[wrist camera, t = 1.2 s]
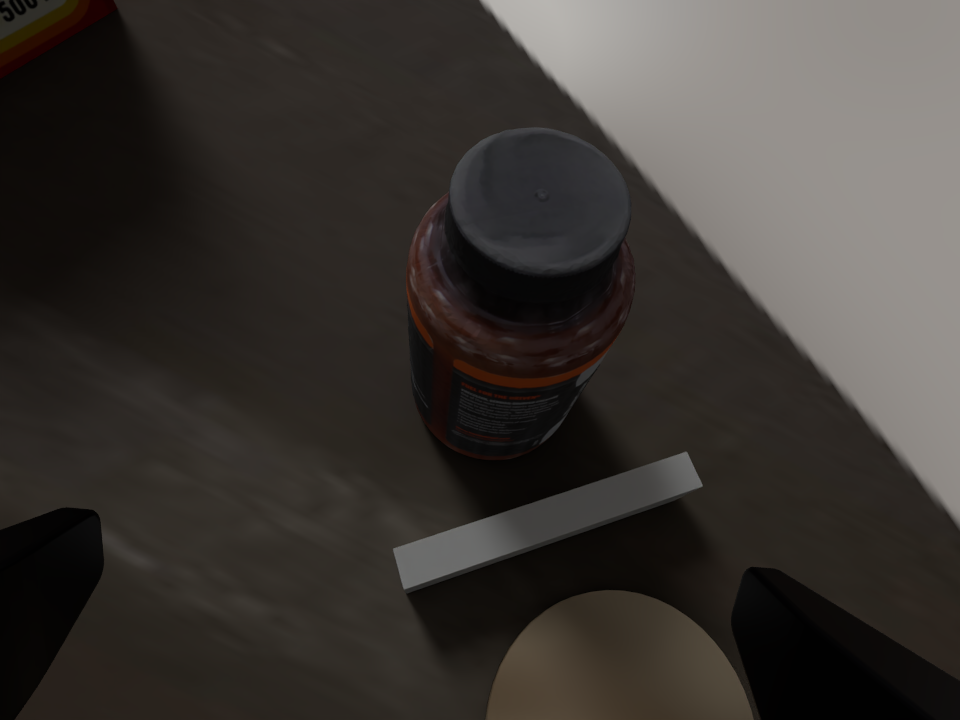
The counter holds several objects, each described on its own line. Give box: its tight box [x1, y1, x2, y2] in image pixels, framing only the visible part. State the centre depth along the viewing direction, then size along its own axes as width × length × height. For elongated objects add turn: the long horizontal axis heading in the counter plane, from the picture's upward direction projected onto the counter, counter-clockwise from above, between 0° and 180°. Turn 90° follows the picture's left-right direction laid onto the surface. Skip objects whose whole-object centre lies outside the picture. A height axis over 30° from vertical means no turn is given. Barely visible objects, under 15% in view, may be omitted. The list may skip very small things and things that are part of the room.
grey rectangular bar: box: [393, 452, 703, 594], centre depth 20 cm, size 10×1×2 cm, turn 109°
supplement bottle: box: [406, 128, 636, 460], centre depth 18 cm, size 6×6×11 cm
